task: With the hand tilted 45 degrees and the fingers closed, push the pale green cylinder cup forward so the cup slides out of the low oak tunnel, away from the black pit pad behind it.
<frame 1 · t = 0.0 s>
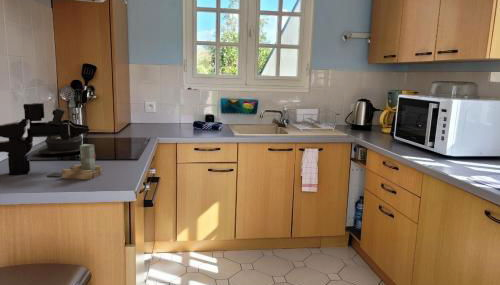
hand: (88, 128, 156), 17 cm above the worktop, tool horizontal, fingers open, 9 cm apart
casserole: (64, 153, 190), on the worktop
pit: (57, 175, 145), on the worktop
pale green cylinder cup: (87, 160, 144), point 6 cm above the worktop, slide at 0.0 cm
onion: (88, 165, 165), on the worktop
tunnel: (82, 176, 146), on the worktop
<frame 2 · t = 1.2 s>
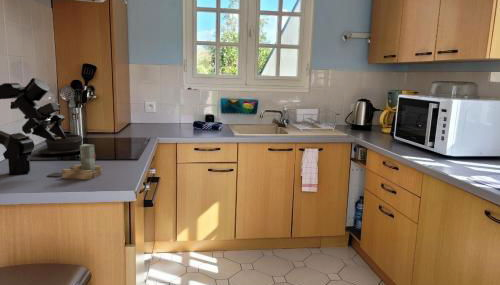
hand: (60, 139, 144), 14 cm above the worktop, tool tilted 45°, fingers open, 6 cm apart
nothing on the worktop moved.
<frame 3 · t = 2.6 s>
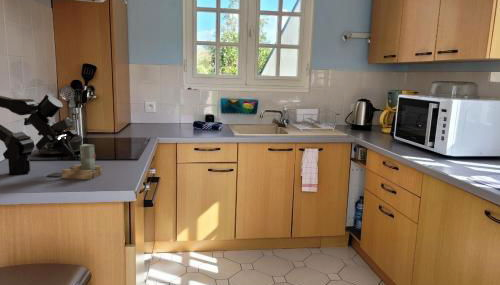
hand: (73, 155, 145), 8 cm above the worktop, tool tilted 45°, fingers closed
nothing on the worktop moved.
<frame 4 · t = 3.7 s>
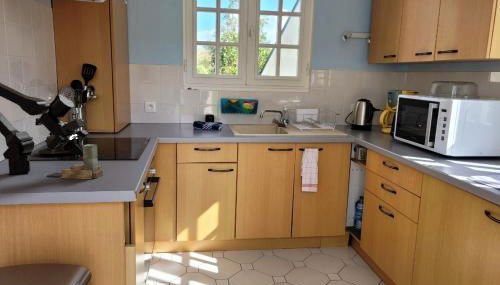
hand: (85, 155, 144), 8 cm above the worktop, tool tilted 45°, fingers closed, pressing on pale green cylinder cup
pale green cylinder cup: (90, 160, 144), point 6 cm above the worktop, slide at 1.1 cm, touching gripper
everything else where it was.
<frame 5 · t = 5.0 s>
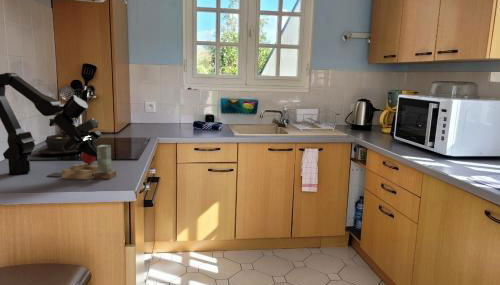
hand: (98, 157, 144), 8 cm above the worktop, tool tilted 45°, fingers closed, pressing on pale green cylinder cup
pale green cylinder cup: (104, 161, 144), point 6 cm above the worktop, slide at 6.5 cm, touching gripper
everything else where it was.
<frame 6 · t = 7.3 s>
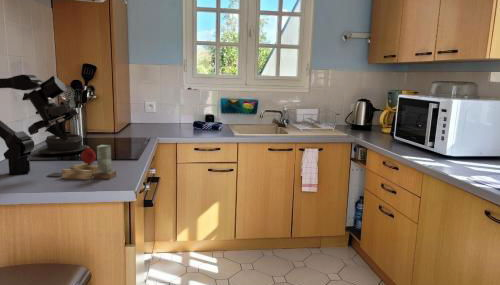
hand: (66, 140, 146), 13 cm above the worktop, tool tilted 30°, fingers closed
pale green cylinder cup: (104, 161, 144), point 6 cm above the worktop, slide at 6.5 cm
everything else where it was.
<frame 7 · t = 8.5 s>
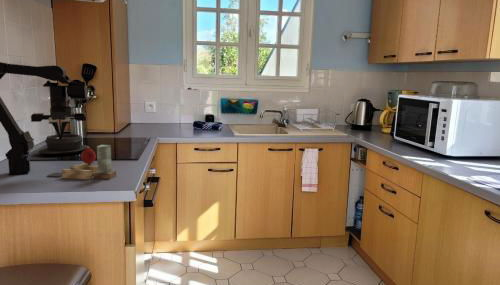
hand: (60, 139, 149), 13 cm above the worktop, tool pointing down, fingers closed
nothing on the worktop moved.
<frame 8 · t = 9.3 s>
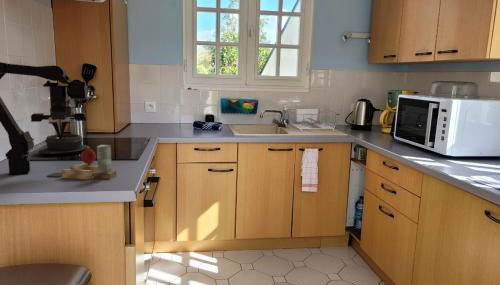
hand: (60, 139, 149), 13 cm above the worktop, tool pointing down, fingers closed
nothing on the worktop moved.
at the end: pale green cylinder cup slide at 6.5 cm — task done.
